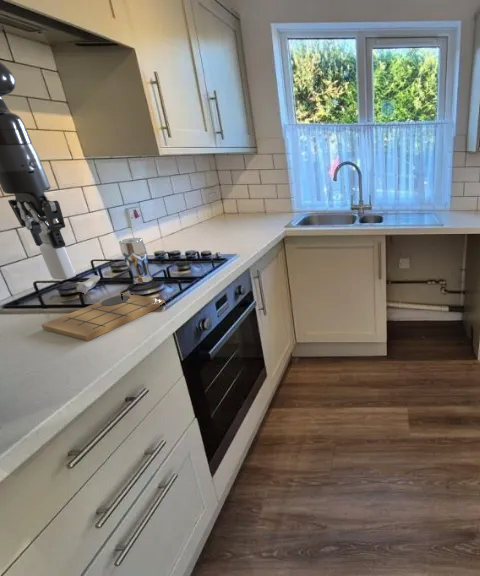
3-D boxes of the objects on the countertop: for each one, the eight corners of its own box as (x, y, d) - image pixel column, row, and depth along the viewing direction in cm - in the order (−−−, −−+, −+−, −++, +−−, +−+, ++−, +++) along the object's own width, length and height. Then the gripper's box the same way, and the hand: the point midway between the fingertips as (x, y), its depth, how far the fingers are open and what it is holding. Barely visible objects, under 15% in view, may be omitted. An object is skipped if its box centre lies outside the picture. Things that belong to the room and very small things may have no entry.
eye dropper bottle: (75, 271, 88) (55, 222, 83) (76, 277, 84) (56, 226, 79) (51, 276, 85) (30, 226, 80) (52, 282, 81) (29, 230, 76)
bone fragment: (102, 282, 126) (99, 272, 125) (89, 294, 116) (85, 284, 115) (87, 284, 125) (83, 274, 124) (72, 296, 115) (68, 286, 114)
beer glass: (126, 284, 123) (112, 242, 118) (144, 277, 130) (132, 236, 124) (141, 286, 121) (128, 243, 116) (159, 279, 127) (147, 238, 122)
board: (87, 341, 89) (85, 335, 88) (43, 329, 95) (40, 324, 95) (165, 304, 108) (164, 299, 107) (124, 296, 114) (122, 292, 113)
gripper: (-24, 169, 74) (12, 248, 81) (16, 170, 69) (51, 254, 76) (20, 166, 80) (51, 239, 87) (60, 166, 75) (89, 244, 82)
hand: (51, 246), depth 81 cm, fingers closed on eye dropper bottle, 5 cm apart
